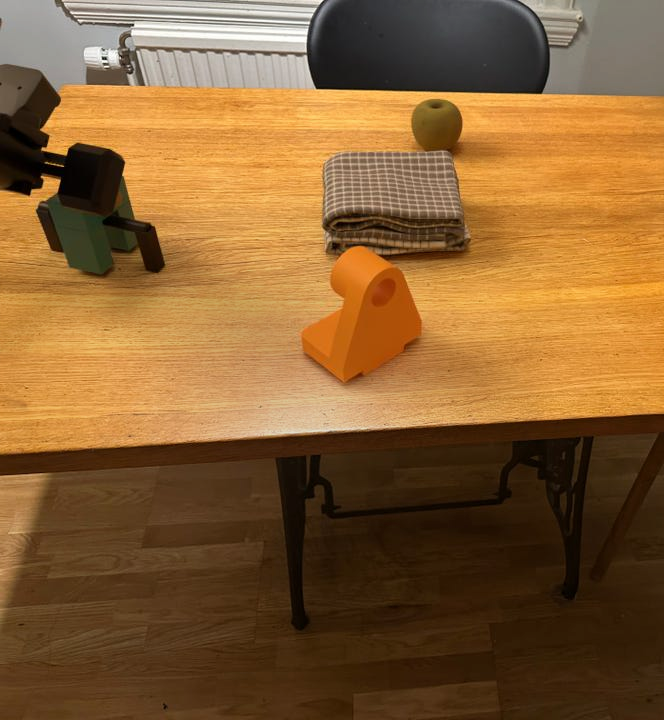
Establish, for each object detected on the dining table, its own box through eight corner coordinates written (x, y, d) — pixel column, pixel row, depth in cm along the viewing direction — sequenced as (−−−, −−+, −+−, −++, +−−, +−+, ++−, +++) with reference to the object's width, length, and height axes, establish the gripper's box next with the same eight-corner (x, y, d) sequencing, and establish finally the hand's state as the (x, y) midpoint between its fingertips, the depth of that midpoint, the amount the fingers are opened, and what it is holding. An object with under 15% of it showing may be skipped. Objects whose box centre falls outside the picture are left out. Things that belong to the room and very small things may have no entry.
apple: (400, 144, 109) (401, 99, 104) (441, 133, 113) (443, 89, 108) (430, 164, 105) (432, 119, 100) (470, 152, 109) (474, 108, 104)
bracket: (376, 308, 79) (375, 217, 71) (421, 340, 76) (425, 248, 68) (299, 352, 73) (287, 257, 65) (344, 388, 70) (338, 293, 62)
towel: (323, 197, 95) (319, 144, 90) (455, 196, 99) (459, 145, 93) (324, 262, 85) (319, 206, 79) (472, 259, 88) (477, 205, 83)
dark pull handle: (158, 273, 80) (145, 227, 76) (50, 249, 82) (32, 204, 77) (165, 265, 81) (153, 220, 77) (59, 242, 83) (42, 197, 79)
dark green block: (101, 274, 78) (80, 207, 72) (69, 267, 78) (45, 200, 73) (140, 240, 84) (123, 175, 78) (110, 234, 84) (91, 169, 79)
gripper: (82, 65, 59) (178, 135, 74) (-115, 29, 60) (19, 104, 76) (51, 193, 58) (154, 236, 74) (-146, 152, 60) (-5, 203, 76)
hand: (80, 191), depth 75 cm, fingers open, 9 cm apart
